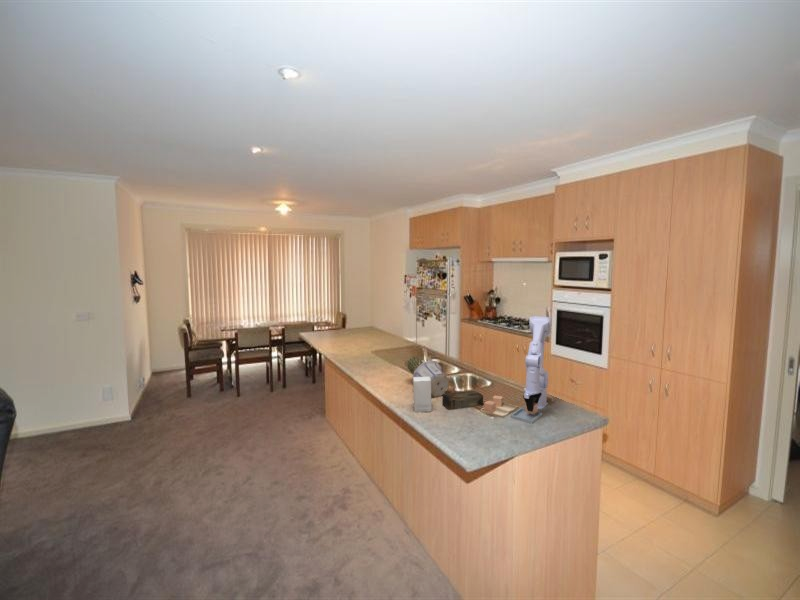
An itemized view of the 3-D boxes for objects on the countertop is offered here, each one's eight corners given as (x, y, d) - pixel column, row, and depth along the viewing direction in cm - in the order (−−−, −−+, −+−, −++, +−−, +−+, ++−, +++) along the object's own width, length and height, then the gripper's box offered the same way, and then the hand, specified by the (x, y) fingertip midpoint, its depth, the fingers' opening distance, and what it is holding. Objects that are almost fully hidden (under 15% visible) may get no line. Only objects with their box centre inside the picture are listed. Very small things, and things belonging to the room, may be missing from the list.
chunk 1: (487, 408, 186) (488, 400, 186) (495, 410, 184) (495, 402, 183) (483, 411, 183) (484, 402, 183) (491, 413, 181) (491, 404, 180)
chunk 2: (494, 403, 193) (494, 395, 193) (502, 404, 192) (502, 396, 191) (492, 405, 190) (492, 397, 189) (500, 407, 188) (501, 399, 188)
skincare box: (430, 407, 190) (430, 376, 188) (431, 412, 183) (431, 380, 182) (413, 407, 190) (413, 376, 188) (414, 412, 183) (414, 380, 181)
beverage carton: (483, 406, 190) (484, 393, 190) (448, 412, 184) (448, 398, 184) (475, 401, 198) (476, 388, 197) (441, 406, 192) (441, 393, 191)
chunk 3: (528, 409, 180) (528, 401, 180) (537, 411, 178) (537, 403, 178) (525, 412, 177) (525, 403, 177) (533, 414, 175) (533, 405, 174)
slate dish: (521, 410, 184) (521, 407, 184) (542, 416, 178) (542, 412, 178) (510, 418, 175) (510, 415, 175) (532, 424, 169) (532, 421, 169)
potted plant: (456, 369, 203) (425, 345, 228) (427, 376, 195) (398, 350, 219) (452, 398, 209) (423, 371, 234) (423, 405, 201) (396, 377, 225)
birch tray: (495, 402, 195) (495, 400, 195) (518, 408, 188) (518, 406, 188) (479, 412, 183) (479, 410, 183) (503, 418, 176) (503, 416, 175)
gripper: (530, 375, 184) (529, 402, 185) (517, 382, 173) (517, 412, 174) (545, 378, 179) (544, 406, 181) (533, 385, 168) (532, 416, 170)
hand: (532, 409), depth 177 cm, fingers closed on chunk 3, 4 cm apart
